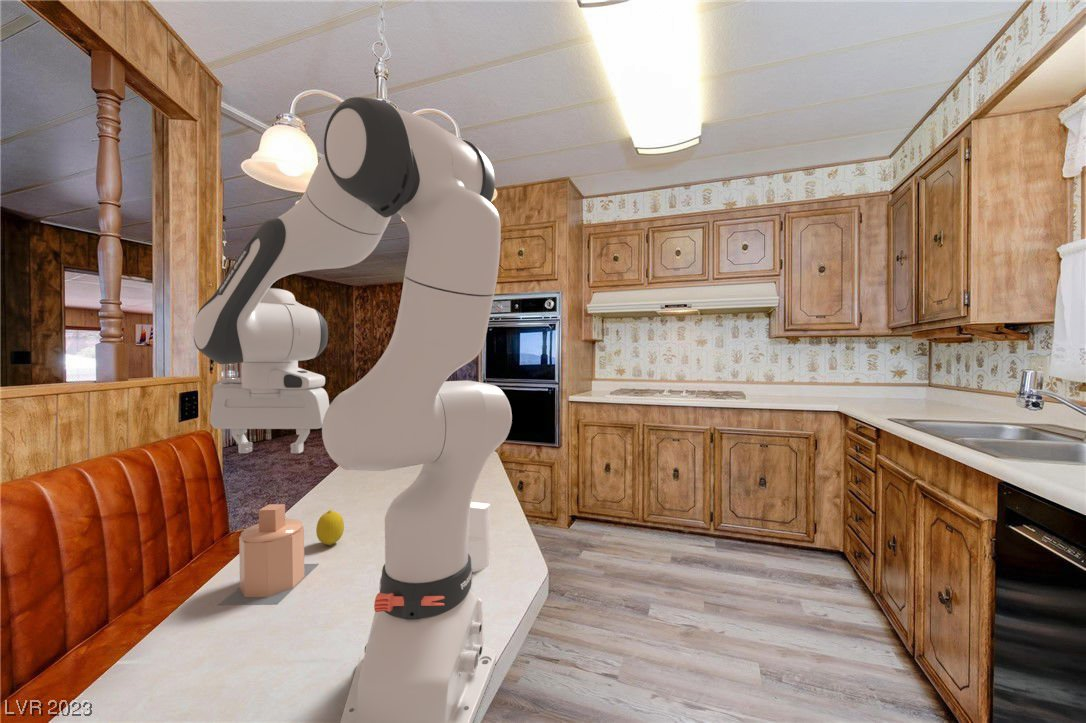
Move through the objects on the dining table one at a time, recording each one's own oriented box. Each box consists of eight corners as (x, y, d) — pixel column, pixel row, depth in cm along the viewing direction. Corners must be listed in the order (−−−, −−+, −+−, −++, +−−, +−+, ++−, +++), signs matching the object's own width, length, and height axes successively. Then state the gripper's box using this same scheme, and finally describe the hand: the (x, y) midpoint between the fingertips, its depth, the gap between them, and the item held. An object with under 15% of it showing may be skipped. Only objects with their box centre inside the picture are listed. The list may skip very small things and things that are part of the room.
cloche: (283, 596, 75) (283, 516, 74) (228, 597, 74) (227, 517, 74) (312, 569, 84) (311, 498, 84) (263, 569, 84) (262, 498, 84)
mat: (277, 606, 72) (277, 604, 72) (217, 607, 72) (217, 604, 72) (319, 565, 86) (319, 563, 86) (269, 566, 86) (269, 564, 86)
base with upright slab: (496, 555, 91) (496, 499, 91) (479, 576, 82) (479, 514, 82) (458, 549, 94) (458, 495, 93) (437, 569, 85) (437, 509, 85)
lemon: (333, 552, 92) (332, 515, 92) (310, 550, 93) (310, 513, 93) (349, 541, 98) (349, 506, 97) (328, 539, 99) (327, 505, 99)
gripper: (200, 378, 75) (201, 456, 76) (316, 379, 76) (317, 456, 76) (225, 376, 82) (226, 448, 82) (333, 377, 82) (334, 448, 82)
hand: (271, 452), depth 79 cm, fingers open, 8 cm apart
